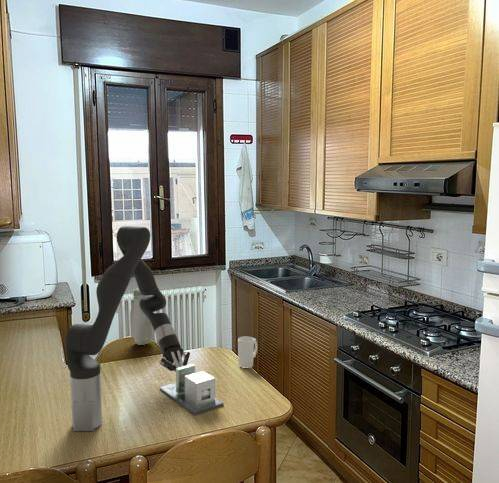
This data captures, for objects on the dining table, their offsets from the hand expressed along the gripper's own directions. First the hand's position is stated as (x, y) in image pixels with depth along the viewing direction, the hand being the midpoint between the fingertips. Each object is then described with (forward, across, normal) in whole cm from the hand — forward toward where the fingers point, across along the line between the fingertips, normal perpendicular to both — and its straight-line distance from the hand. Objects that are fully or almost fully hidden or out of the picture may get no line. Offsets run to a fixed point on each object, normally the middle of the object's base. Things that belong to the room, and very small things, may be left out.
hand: (183, 378), depth 179 cm
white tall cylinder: (-36, +10, +44) cm, 58 cm away
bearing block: (+7, 0, 0) cm, 7 cm away
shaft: (+8, 0, -3) cm, 9 cm away
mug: (0, +36, +8) cm, 37 cm away
